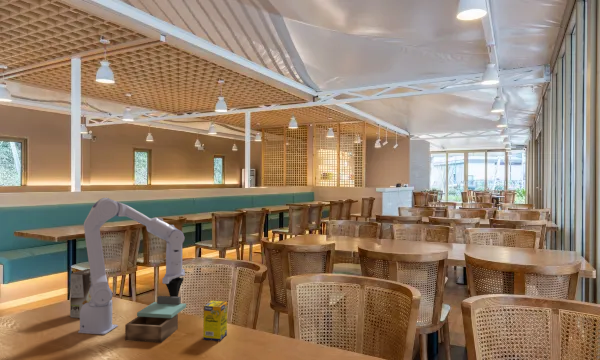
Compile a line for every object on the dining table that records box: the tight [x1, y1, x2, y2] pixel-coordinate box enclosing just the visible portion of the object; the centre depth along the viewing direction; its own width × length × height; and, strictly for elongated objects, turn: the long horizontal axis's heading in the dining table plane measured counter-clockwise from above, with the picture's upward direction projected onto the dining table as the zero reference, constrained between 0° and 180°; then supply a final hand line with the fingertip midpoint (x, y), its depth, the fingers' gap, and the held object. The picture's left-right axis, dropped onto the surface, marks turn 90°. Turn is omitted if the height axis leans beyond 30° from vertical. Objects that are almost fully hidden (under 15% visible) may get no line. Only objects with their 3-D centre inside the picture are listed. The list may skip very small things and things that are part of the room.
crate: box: [124, 313, 179, 344], centre depth 137 cm, size 12×12×5 cm
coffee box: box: [69, 268, 91, 319], centre depth 156 cm, size 9×6×16 cm
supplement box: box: [202, 300, 228, 342], centre depth 135 cm, size 6×6×11 cm
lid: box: [136, 295, 187, 318], centre depth 144 cm, size 12×12×4 cm
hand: (174, 298), depth 153 cm, fingers closed
